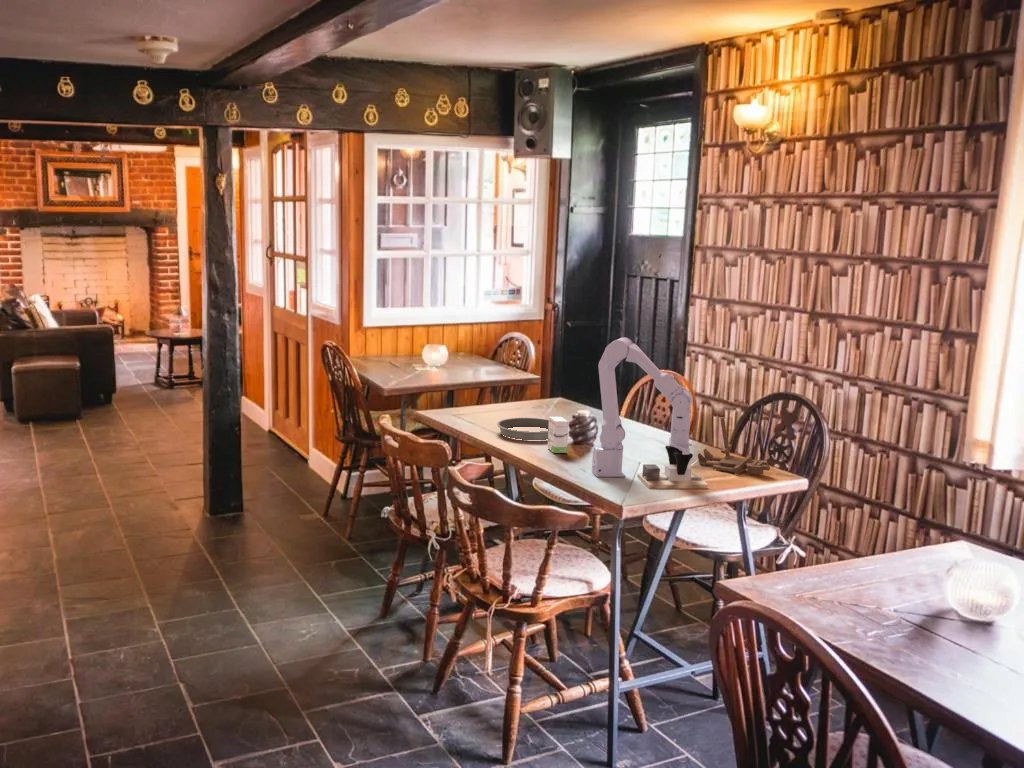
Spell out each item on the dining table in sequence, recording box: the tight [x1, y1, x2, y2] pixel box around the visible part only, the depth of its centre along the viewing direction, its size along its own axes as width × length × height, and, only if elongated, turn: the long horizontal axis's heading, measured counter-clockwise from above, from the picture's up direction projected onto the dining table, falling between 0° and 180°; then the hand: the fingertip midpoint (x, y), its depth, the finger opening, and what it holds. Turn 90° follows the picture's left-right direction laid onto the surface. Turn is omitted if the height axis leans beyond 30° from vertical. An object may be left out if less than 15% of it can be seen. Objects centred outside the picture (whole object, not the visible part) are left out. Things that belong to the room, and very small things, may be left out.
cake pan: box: [496, 417, 549, 440], centre depth 358 cm, size 25×25×4 cm
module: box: [664, 464, 692, 481], centre depth 299 cm, size 7×5×4 cm
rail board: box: [637, 463, 709, 489], centre depth 299 cm, size 19×13×5 cm
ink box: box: [547, 416, 569, 454], centre depth 334 cm, size 9×5×12 cm, turn 15°
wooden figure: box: [689, 416, 771, 476], centre depth 316 cm, size 14×18×25 cm
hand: (677, 471), depth 299 cm, fingers open, 7 cm apart
